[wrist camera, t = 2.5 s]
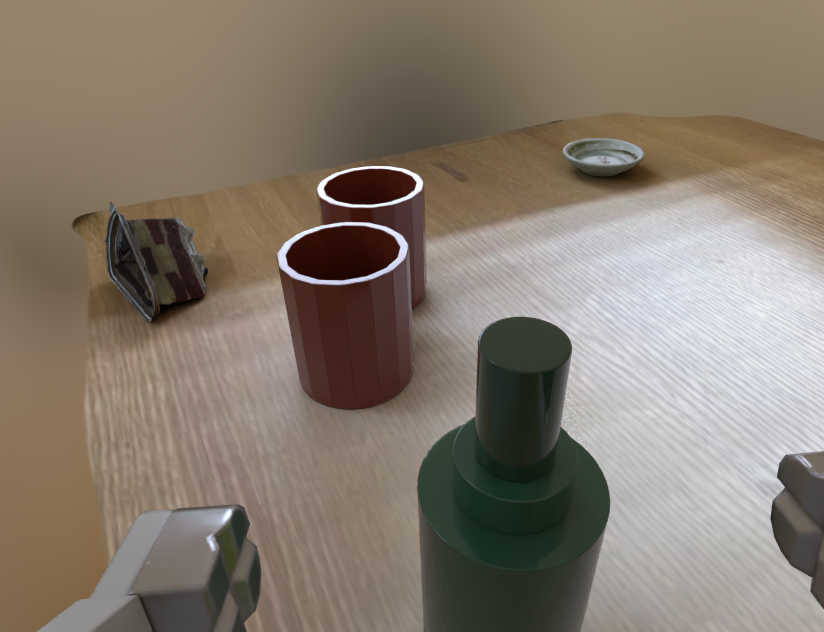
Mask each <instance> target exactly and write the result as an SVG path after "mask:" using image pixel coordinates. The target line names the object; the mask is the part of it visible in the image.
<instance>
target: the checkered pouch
mask: <svg viewBox="0 0 824 632" xmlns="http://www.w3.org/2000/svg"><path fill="white" fill-rule="evenodd" d="M110 212H111V214H110V219H108V225H107V236H106V239H105V241H104V242H106V243H107V244H106V246H107V247H106V263H107V272H108V274H109V277H110V279H111V280H112V282H113V283H114V285H115V284H116V285H117V288H118V289H119V290H120V291H121V292H122V293H123V295H125V298H127V299H128V301H129V303H131V304H132V305H134V307H135V309H136V310H137V311H138V312H139V313H140V314H141V316H142V317H143V319H144V321H148V322H151V319H152V318H153V317H154V316H156V315H158V314H159V312H160V304H163V305H164V304H166V305H169V304H171V303H174V302H177V303H179V302H183V301H185V300H191V299H197V298H202V297H204V294H205V292H206V287H205V284H204V281H203V276H205V275H207V273H208V269H207V268H205V267H203V263H204V262H205V260H204V257H203V256H202V255H200V254H197V252H196V250H195V247H194V244H193V241H192V238H193V234H194V230H193V229H191V228H188V227H185V226H184V225H183V222H182V221H181V220H180V219H177V218H168V219H167V218H166V219H137V220H126V219H125V217H124V216H123V215H120V214H118V213H117V212H116V210H115V208H114V206H113V204H112V203H111V202H110Z"/></svg>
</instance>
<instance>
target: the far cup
mask: <svg viewBox="0 0 824 632" xmlns="http://www.w3.org/2000/svg"><path fill="white" fill-rule="evenodd" d="M316 191H317V198H318V206H319V213H320V221H321V226H322V225H329V224H335V223H342V222H363V223H372V224H376V225H381V226H385V227H388V228H390V229H392V230H394V231H396V232H397V233H399V234H401V235H403V237H404V239H405V240H406V242H407V244H408V245H409V254H410V277H411V301H412V309H413V308H415V307H416V306H418V305H419V304H420V303H421V301H422V300H423V299H424V297H425V294H426V283H427V280H426V240H425V200H424V182H423V181H422V179H421V178H420V177H419V175H417V174H415V173H413V172H410V171H408V170H405V169H401V168H395V167H387V166H370V167H369V166H368V167H361V168H353V169H348V170H345V171H342V172H338V173H335V174H333V175H331V176H329V177H327V178H326V179H324V180H322V181H321V183H320V184H319V186H318V187H317V189H316Z"/></svg>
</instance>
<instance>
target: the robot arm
mask: <svg viewBox="0 0 824 632" xmlns="http://www.w3.org/2000/svg"><path fill="white" fill-rule="evenodd" d="M777 478H778V479H779V480H780V481H781V483H782V484H783V485H784V487H785V489H784V490H783V491H782V492H781V493H780V494H779V495H778V496H777V497H776V498H775V499H774V500H773V503H772V511H771V523H772V528H773V533H774V537H775V540H776V542H777V544H778V546H779V548H780V550H781V552H782V553H783V555H784V556H785V558H786V559H787V560H788V562H789V563H790V565H791V566H793V567H794V568H796V569H798V570H800V571H801V572H803V573H805V574H807V575H808V576H810V577H812V581H811V591H810V592H811V593H812V594H813V596H814V597H815V598H816V600H817V601H818V602H819V604H820V605H821V606H822V608H823V609H824V451H821V452H810V453H800V454H790V455H785V457H784V458H783V459H782V461H781V462H780V464H779V469H778V474H777ZM249 526H250V522H249V519H248V516H247V513H246V510H245V508H244V507H243V506H241V505H239V504H238V505H223V506H208V507H194V508H179V509H176V510H158V511H145V512H144V513H142V514H141V515H139V516H138V517H137V518H136V520H135V521H134V523H133V525H132V526H131V528H130V530H129V531H128V533H127V535H126V537H125V538H124V540H123V542H122V543H121V545H120V547H119V549H118V550H117V552H116V554H115V555H114V557H113V559H112V560H111V562H110V564H109V566H108V567H107V569H106V571H105V573H104V574H103V576H102V578H101V579H100V581H99V583H98V585H97V586H96V588H95V590H94V591H93V593H92V595H91V597H90V598H89V599H83V600H78V601H77V602H75V603H74V604H73V605H71V606H70V607H69V608H67V609H66V610H65V611H63V612H62V613H61V614H59V615H58V616H57V617H55V618H54V619H53V620H52V621H50V622H49V623H47V624H46V625H45V626H44V627H43V628H41V629H40V630H38V631H37V632H246V628H245V625H244V622H245V621H246V620H247V619H248V618H249V617H250V616H251V615H252V614H253V613H254V612H255V611H256V607H257V603H258V599H259V595H260V586H261V565H260V558H259V554H258V550H257V546H256V545H254V544H253V543H252V542H251V541H249V540H248V539H247V538H246V535H247V532H248V529H249Z"/></svg>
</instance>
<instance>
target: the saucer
mask: <svg viewBox="0 0 824 632" xmlns="http://www.w3.org/2000/svg"><path fill="white" fill-rule="evenodd" d="M563 155H564V157H565V158H566V159H567V160H568V161H569V162H570V163H571V164H572V165H573V166H575V167H576V168H578V169H581V171H583V172H584V173H587V174H589V175H594V176H613V175H616V174H619V173H620V172H623V171H626V170H628V169H630V168H632V167H634V166H635V165H636V164H638V163H640V162H641V161H642V160H643V158H644V152H643V150H642V149H641V148H640V147H638V146H636V145H634V144H632V143H629V142H626V141H621V140H616V139H606V138H591V139H582V140H578V141H574V142H571V143H569V144H567V145H566V146H565V147H564V149H563Z"/></svg>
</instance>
